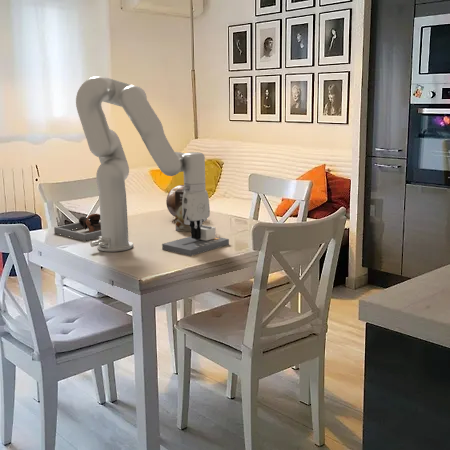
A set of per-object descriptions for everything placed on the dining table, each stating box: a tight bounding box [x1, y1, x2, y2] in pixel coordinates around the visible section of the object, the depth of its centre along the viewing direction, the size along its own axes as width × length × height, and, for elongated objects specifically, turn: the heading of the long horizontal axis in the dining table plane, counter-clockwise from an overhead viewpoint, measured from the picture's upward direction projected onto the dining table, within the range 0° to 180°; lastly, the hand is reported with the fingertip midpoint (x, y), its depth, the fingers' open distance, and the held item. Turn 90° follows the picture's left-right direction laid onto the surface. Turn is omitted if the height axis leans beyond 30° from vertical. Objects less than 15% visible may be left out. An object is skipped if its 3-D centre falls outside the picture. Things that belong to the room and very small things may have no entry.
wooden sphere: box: [165, 184, 184, 217], centre depth 260 cm, size 15×15×15 cm
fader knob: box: [200, 224, 217, 241], centre depth 216 cm, size 5×6×5 cm
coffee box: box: [174, 189, 191, 232], centre depth 239 cm, size 9×6×16 cm
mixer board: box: [161, 235, 230, 257], centre depth 213 cm, size 20×14×2 cm
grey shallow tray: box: [53, 221, 101, 242], centre depth 237 cm, size 18×20×2 cm
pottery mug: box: [78, 213, 101, 233], centre depth 239 cm, size 12×10×8 cm
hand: (196, 238), depth 213 cm, fingers closed
